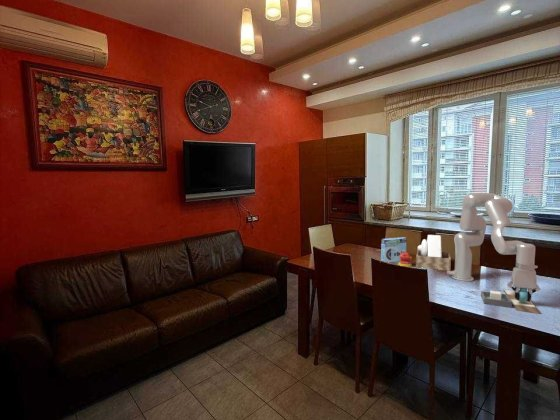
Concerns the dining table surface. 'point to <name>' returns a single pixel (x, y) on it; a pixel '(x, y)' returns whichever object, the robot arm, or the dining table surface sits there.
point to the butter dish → (431, 246)
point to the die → (495, 295)
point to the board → (521, 303)
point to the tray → (503, 302)
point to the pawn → (523, 295)
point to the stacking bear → (405, 260)
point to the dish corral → (434, 261)
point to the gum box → (392, 249)
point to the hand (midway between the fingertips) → (522, 299)
